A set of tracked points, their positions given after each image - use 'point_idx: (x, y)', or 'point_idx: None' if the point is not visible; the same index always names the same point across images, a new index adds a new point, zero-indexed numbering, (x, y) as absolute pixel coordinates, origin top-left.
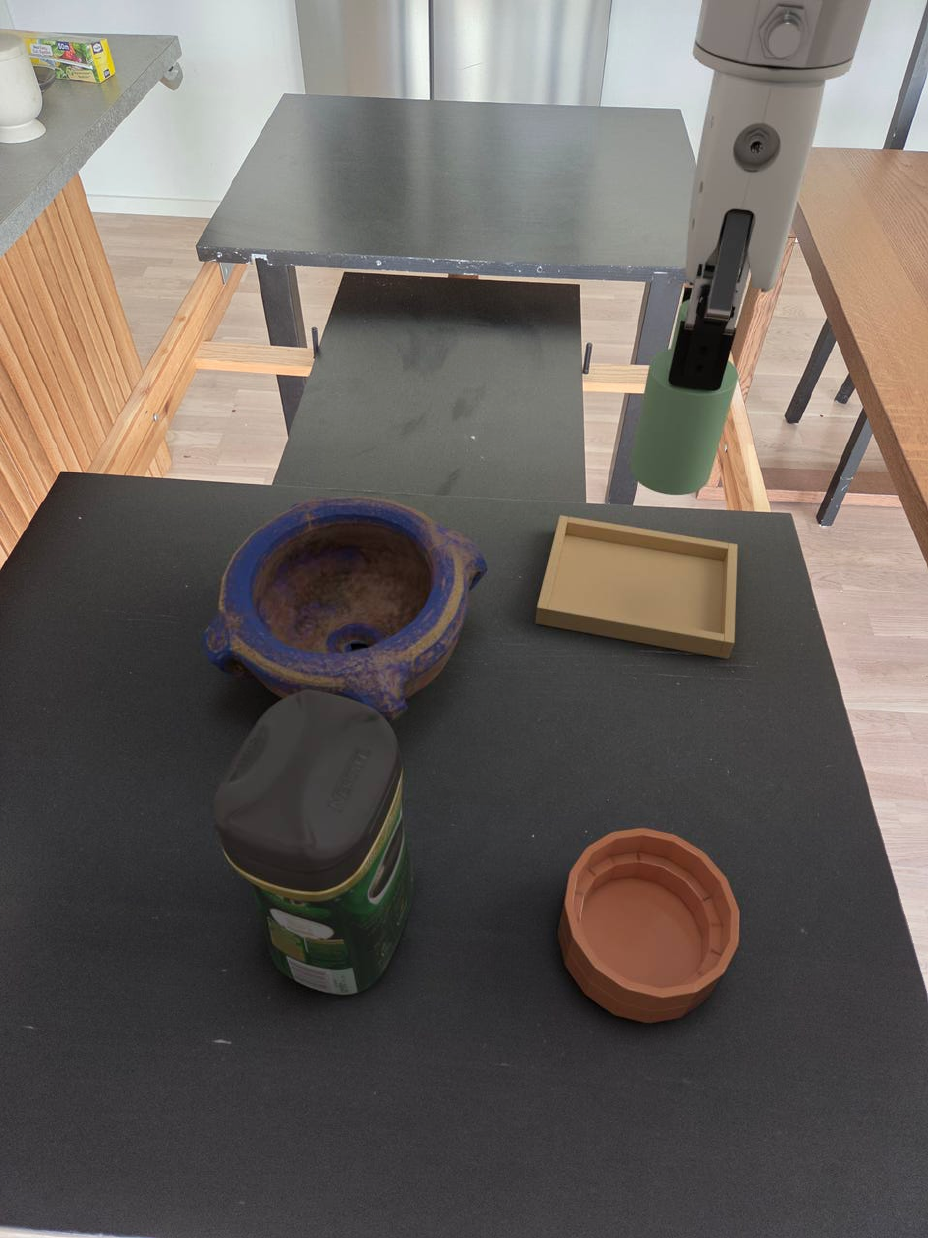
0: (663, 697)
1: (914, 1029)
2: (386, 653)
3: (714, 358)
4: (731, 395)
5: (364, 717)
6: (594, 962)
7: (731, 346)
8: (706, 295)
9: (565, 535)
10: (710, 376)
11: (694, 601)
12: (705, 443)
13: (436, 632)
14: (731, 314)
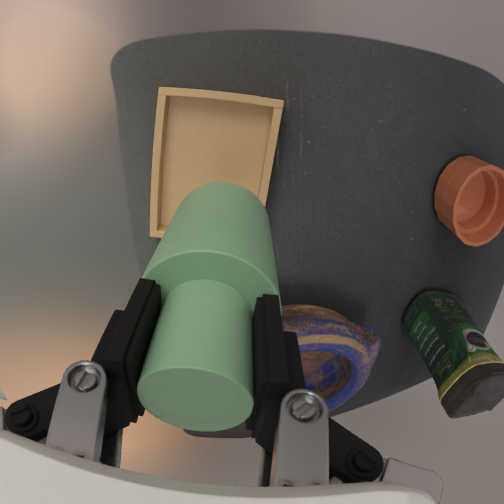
0: (322, 154)
1: (496, 78)
2: (362, 360)
3: (301, 363)
4: (246, 250)
5: (478, 397)
6: (496, 234)
7: (285, 355)
8: (131, 397)
9: (161, 225)
10: (296, 336)
11: (223, 122)
12: (267, 237)
13: (350, 342)
14: (380, 462)
